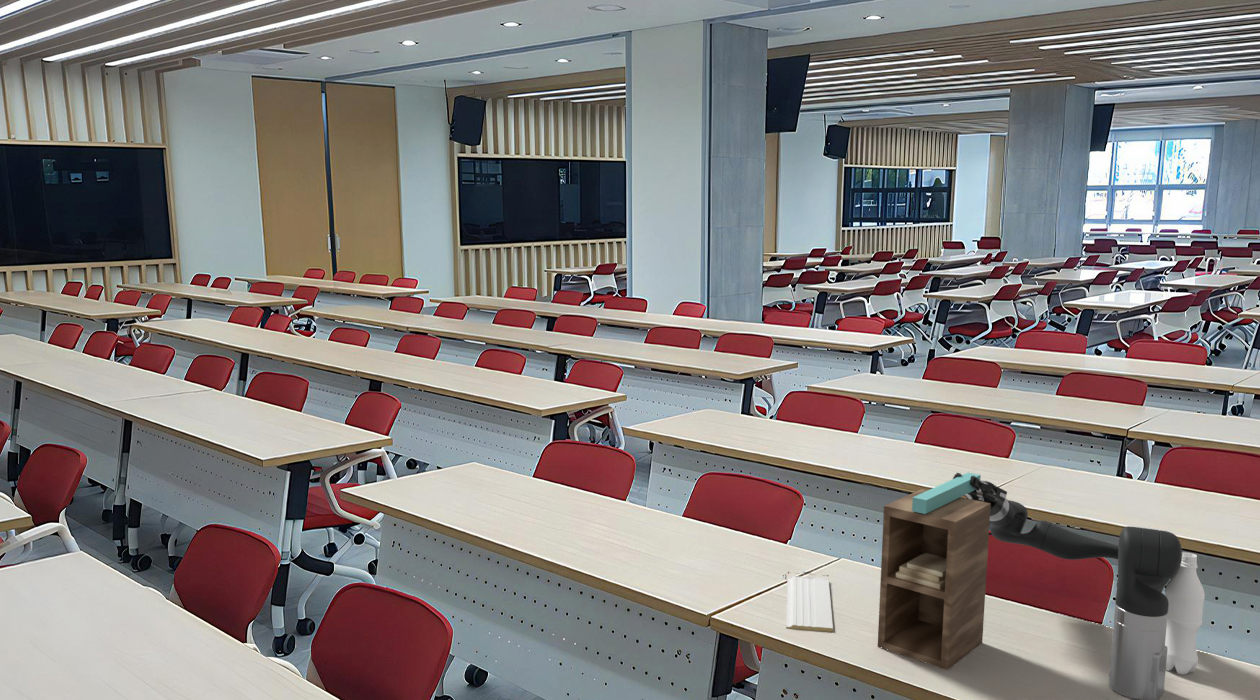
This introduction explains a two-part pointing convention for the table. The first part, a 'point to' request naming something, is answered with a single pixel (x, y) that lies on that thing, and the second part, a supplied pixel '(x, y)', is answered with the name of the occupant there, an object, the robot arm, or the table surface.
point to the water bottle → (1184, 616)
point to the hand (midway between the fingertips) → (964, 478)
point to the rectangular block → (943, 494)
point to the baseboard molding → (808, 603)
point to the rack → (933, 580)
